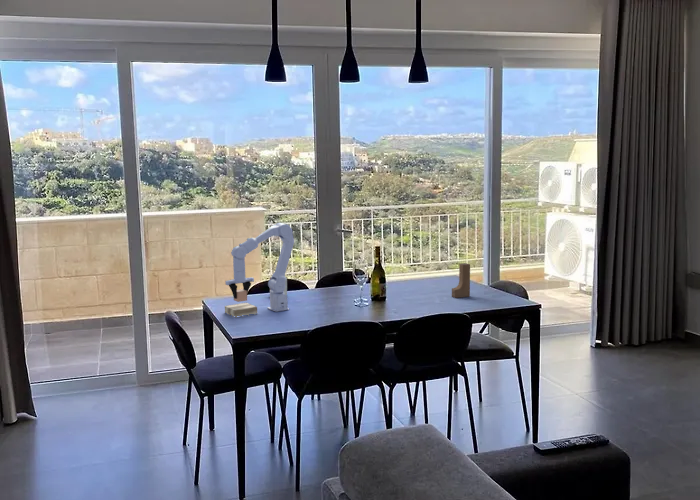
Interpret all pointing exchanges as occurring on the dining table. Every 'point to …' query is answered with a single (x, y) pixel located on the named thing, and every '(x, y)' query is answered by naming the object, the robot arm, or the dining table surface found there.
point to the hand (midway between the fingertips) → (240, 297)
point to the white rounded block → (285, 286)
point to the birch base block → (240, 309)
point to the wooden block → (463, 282)
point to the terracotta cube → (241, 295)
